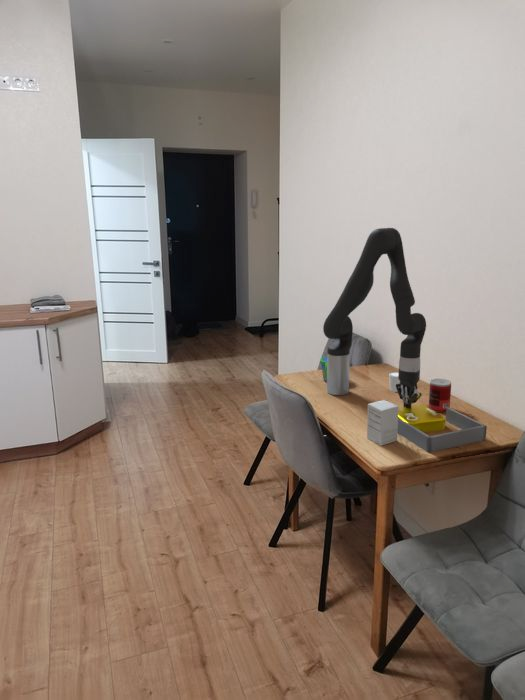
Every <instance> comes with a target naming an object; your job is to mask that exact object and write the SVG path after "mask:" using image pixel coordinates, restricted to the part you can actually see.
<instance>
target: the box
mask: <svg viewBox="0 0 525 700" xmlns="http://www.w3.org/2000/svg"><path fill="white" fill-rule="evenodd" d="M445 419H446V420H445V422H447V423H449V424H451V425H453V426H455V427H458V428H459V430H455V431H451V432H450V431H449V432H445V433H439V434H436V435H435V434H434V435H429V434H427V433H426V432H422V431H420V430H418V429H417V428H415V427H413V426H412V425H410V424H408V423H407V422H405V421H403V420H402V419H400V418H398V430H397V434H399V435H400V436H401V437H403V438H405V439H407V440H408V441H410V442H411V443H413V444H414V445H416V446H417V447H419V448H421V449H422V450H423V451H425V452H427V453H433V452H438V451H442V450H447V449H451V448H457V447H459V446H460V447H461V446H465V445H469V444H473V443H477V442H478V443H479V442H483V441H486V440H487V439H486V438H487V427H488V426H487V425H485V424H484V423H481V422H479V421H477V420H475V419H473V418H471V417H469V416H468V415H465V414H463V413H461V412H459V411H457V410H455V409H453V408H451V407H450V408H449V407H448V408H447V409H446V412H445Z"/></svg>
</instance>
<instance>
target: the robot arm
mask: <svg viewBox="0 0 525 700" xmlns="http://www.w3.org/2000/svg"><path fill="white" fill-rule="evenodd" d="M362 249H363V250H362V252H361V255H360V257H359V259H358V261H357V263H356V265H355V267H354V270H353V271H352V273H351V275H350V276H349V278H348V280H347V282H346V284H345V286H344V288H343V290H342V292H341V294H340V296H339V298H338V300H337V302H336V303H335V305H334V307H333V308H332V309H331V311H330V312H329V314H328V315H327V317H326V319H325V320H324V323H323V325H322V326H323V327H322V329H323V334H324V336H325V337H326V338H327V339H333V341H332V342H331V343H330V344H329V345H328V346H327V348H326V349H327V353H326V354H327V382H326V392H327V393H328V394H329V395H332V396H345V395H349V392H350V356H351V355H350V353H351V352H350V351H351V348H352V344H353V332H354V331H353V330H354V329H353V328H354V327H353V326H354V325H353V322H352V319H351V317H350V316H349V315H350V314H351V313H352V312H354V310H356V309H357V308H358V307H359V306H360V305H361V304H362V303H363V302H365V300H366V298H367V297H368V295H369V294H370V292H371V290H372V288H373V285H374V278H375V277H374V276H375V275H374V270H375V267H376V265H377V263H378V261H379V260H380V258H382V257H381V256H383V255H387V257H388V260H389V263H390V278H389V279H390V280H389V289H390V294H391V296H392V301H393V302H394V305H395V322H396V327H397V330H398V331H399V332H400V334H403V335H405V336H406V337H405V338H404V339H403V340H402V341H401V343H400V347H399V349H400V350H399V352H400V353H399V361H398V372H399V374H398V379H399V380H400V383H399V384H396V388H397V391H398V392H397V394H398V396H399V399H400V400H401V401H402V403H403V405H402V407H406V408H409V407H410V408H411V406H412V404H415V403H417V402H418V401H419V400H420V398H421V397H422V395H423V394H422V393H421V392H419V390H418V382H419V381H420V378H421V347H422V343H423V340H424V337H425V333H426V329H427V321H426V318H425V316H424V315H423V314H421V313H419V312H414V313H412V311H411V308H412V307H413V306H415V304H416V299H415V297H414V293H413V290H412V286H411V283H410V280H409V277H408V272H407V266H406V260H405V253H404V246H403V241H402V236H401V233H400V232H399V230H398V229H396V228H394V227H382V228H376V229H374V230H372V231H371V232H370V234H369V235H368V237H367V239H366V241H365V243H364V246H363V248H362Z"/></svg>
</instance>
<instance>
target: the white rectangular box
mask: <svg viewBox="0 0 525 700" xmlns="http://www.w3.org/2000/svg"><path fill="white" fill-rule="evenodd" d="M398 408H399V405H397V404H395V403H392V402H390V401H387V400H385V399H382V400H379V401H374V402H370V403H368V404H367V417H366V418H367V421H366V422H367V423H366V428H367V429H366V430H367V431H366V438H367V440H370V441H371V442H374V443H375V444H377V445H379V446H384V445H388V444H392V443H395V442H397V441H398V433H397V430H398Z"/></svg>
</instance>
